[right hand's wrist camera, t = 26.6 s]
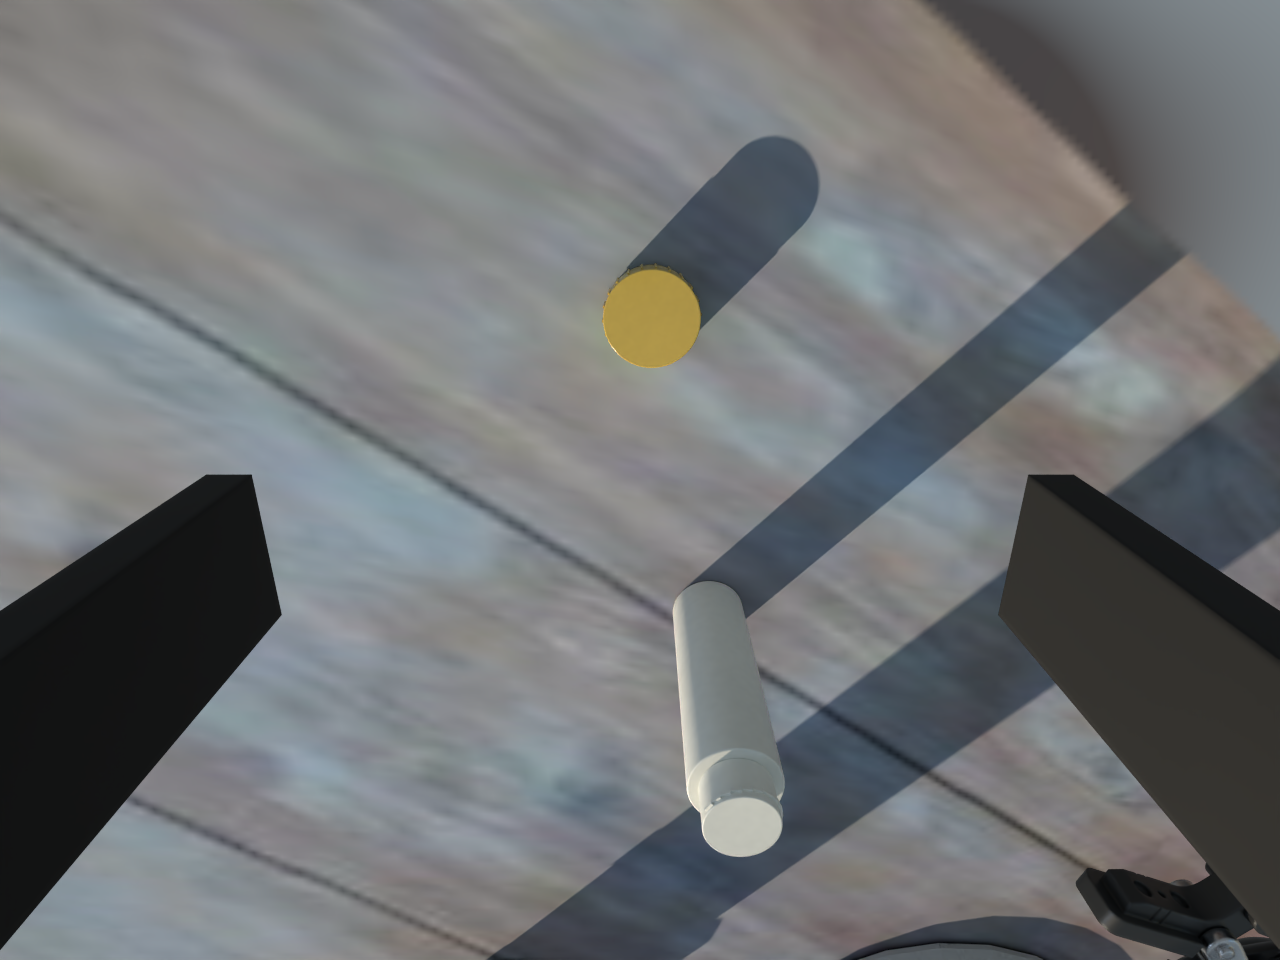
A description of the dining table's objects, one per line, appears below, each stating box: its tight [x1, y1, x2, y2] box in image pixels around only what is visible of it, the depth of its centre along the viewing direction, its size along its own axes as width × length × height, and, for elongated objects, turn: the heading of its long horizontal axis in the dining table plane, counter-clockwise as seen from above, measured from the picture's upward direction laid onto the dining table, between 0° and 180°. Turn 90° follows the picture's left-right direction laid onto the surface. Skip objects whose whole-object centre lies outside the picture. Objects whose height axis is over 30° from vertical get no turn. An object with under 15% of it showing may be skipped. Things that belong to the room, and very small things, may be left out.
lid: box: [602, 263, 702, 368], centre depth 36 cm, size 5×5×2 cm
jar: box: [673, 581, 785, 857], centre depth 37 cm, size 4×4×16 cm
